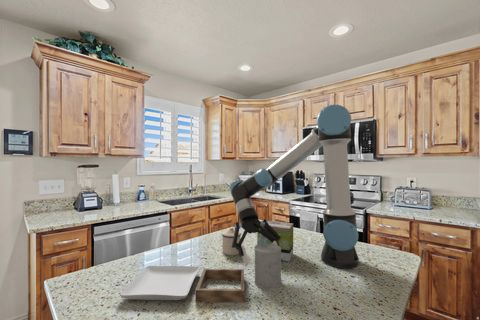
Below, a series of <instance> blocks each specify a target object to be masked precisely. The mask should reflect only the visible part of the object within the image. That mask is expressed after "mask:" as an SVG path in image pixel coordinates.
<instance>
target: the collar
mask: <svg viewBox="0 0 480 320" xmlns="http://www.w3.org/2000/svg"><path fill="white" fill-rule="evenodd" d="M207 280H214V281H216V280H223V281H224V280H225V281H227V280H228V281H240V288H204V286H205V284H206V281H207ZM196 302H197V303H199V302H200V303H203V302H204V303H206V302H207V303H245V269H244V268H203V270H202V273H201V275H200V278H199V280H198V283H197V285H196V288H195V303H196Z"/></svg>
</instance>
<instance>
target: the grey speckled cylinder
mask: <svg viewBox="0 0 480 320" xmlns="http://www.w3.org/2000/svg"><path fill="white" fill-rule="evenodd" d="M254 284H255V285H256V286H257V287H258V288H260V289H264V290H276V289H278V288H280V287H281V286H282V260H281V247H280V246H278V245H275V244H268V243H264V244H258V245H257V244H256V245H255V246H254Z"/></svg>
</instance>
